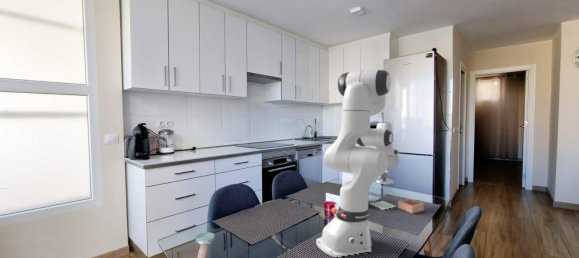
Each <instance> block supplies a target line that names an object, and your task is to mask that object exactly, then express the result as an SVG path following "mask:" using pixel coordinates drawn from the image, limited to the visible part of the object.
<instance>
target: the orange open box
mask: <svg viewBox="0 0 579 258" xmlns="http://www.w3.org/2000/svg"><path fill="white" fill-rule="evenodd" d="M398 208H400V209H399V210H401V209H402V210H401V211H403V210H405V211H404V212H406V211H407V212H406V213H408V212H409V214H411V215H413V213H414V214H418V213H422V212H425V203H423V202H420V201H417V200H414V199H412V198H406V199H402V200H398V201H397V209H398ZM421 211H422V212H421Z"/></svg>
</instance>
